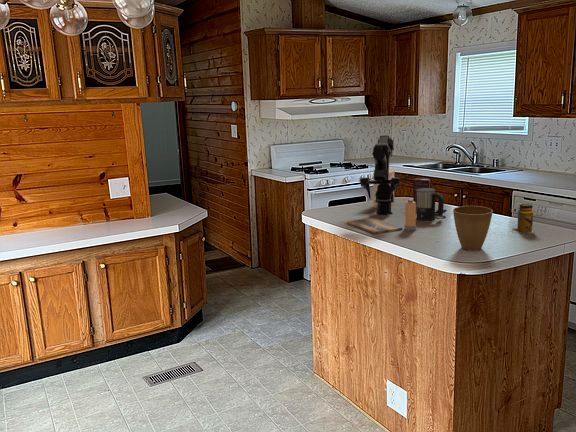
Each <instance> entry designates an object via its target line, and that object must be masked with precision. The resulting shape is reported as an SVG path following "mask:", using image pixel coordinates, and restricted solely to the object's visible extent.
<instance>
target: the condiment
mask: <svg viewBox="0 0 576 432" xmlns="http://www.w3.org/2000/svg"><path fill="white" fill-rule="evenodd" d="M533 218H534V211H533V204H530V203H521V204H519V209H518V212H517V227H516V228H515V227H512V228H511V231H512V233H516V234H517V233H518V234H519V233H521V234H534V231H533V223H534V219H533Z"/></svg>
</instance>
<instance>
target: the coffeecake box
mask: <svg viewBox="0 0 576 432" xmlns="http://www.w3.org/2000/svg"><path fill="white" fill-rule="evenodd" d="M372 177H373V179H372V180H374V172H373V176H372ZM392 177H395V170H394V169H389V180H391V178H392ZM372 185H373V190H372V191H373V192H372V195H373V198H372V199H373V200H372V201H373V204H372V205H373V207H372V208H375V209H377V205H378V202H377V203H376V191H377V187H378V185H379V184H372ZM389 185H391V184H389ZM393 194H394V195H395V190H394V191H393ZM390 200H391V199H390ZM394 204H395V201H394V202H392V203H391V206H392V205H394Z"/></svg>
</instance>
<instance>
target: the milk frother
mask: <svg viewBox="0 0 576 432" xmlns="http://www.w3.org/2000/svg"><path fill="white" fill-rule="evenodd" d="M416 191H417V208H416V220H418V221H419V220H420V221H431V220H435V219H436V217H437V216H442V215H443V214H445V213H446V212H447V211H448V210H447V209H446V208H445V209H444V205H445V198H444V196H443V194H441V193H440V192H436V189H435V188H431V187H430V188H422V189H417V190H416ZM436 199H437V200H438V201H437V203H438V205H437V209H436Z"/></svg>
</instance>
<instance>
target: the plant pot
mask: <svg viewBox="0 0 576 432" xmlns="http://www.w3.org/2000/svg"><path fill="white" fill-rule="evenodd" d="M493 211H494V210H493V209H491V207H486V206H480V205H463V206H457V207H454V208H452V213H453V219H454V226H455V230H456V234H457V237H458V240H459V243H460V246H461V248H463V249H462V250H464V249H466V250H465V251H469V250H477V251H480V250H481V249H482V248H483V246H484V243H485V241H486V238H487V236H488V232H489V229H490V226H491V221H492V218H493V216H492V215H493ZM479 249H480V250H479Z"/></svg>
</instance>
